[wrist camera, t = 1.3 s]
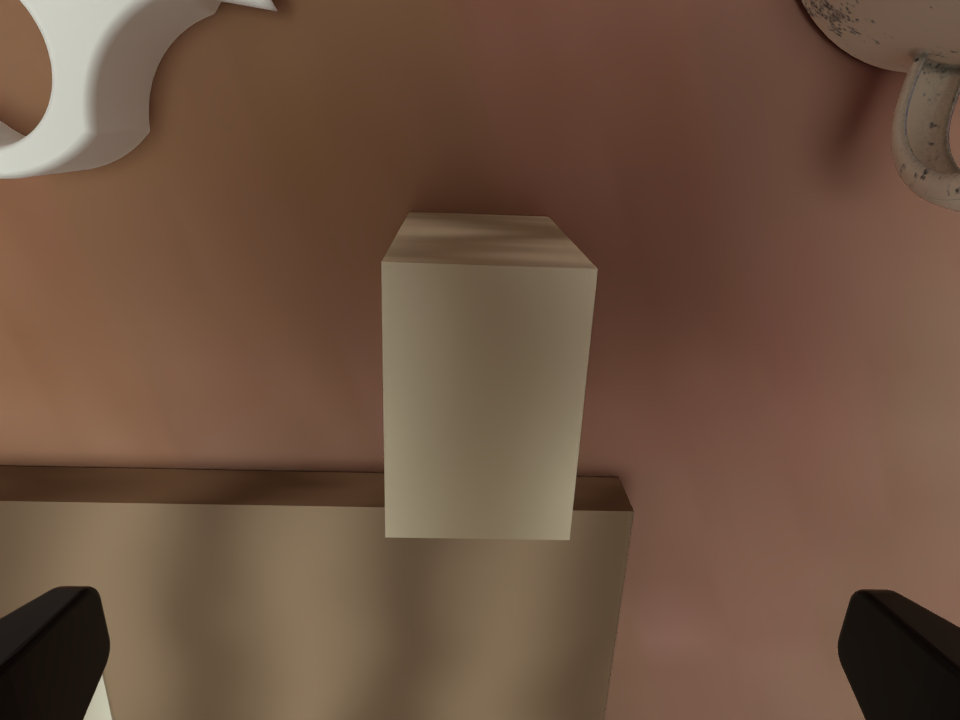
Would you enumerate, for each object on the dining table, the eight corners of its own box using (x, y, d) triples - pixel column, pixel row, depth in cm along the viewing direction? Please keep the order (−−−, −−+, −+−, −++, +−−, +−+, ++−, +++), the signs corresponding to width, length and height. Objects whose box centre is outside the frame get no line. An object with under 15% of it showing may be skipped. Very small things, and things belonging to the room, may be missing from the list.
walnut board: (618, 477, 21) (657, 564, 17) (582, 757, 26) (605, 880, 22) (-190, 462, 20) (-360, 550, 16) (-82, 756, 25) (-192, 886, 21)
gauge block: (548, 216, 18) (598, 268, 12) (534, 406, 21) (569, 540, 14) (409, 211, 18) (381, 262, 12) (409, 403, 20) (385, 537, 14)
